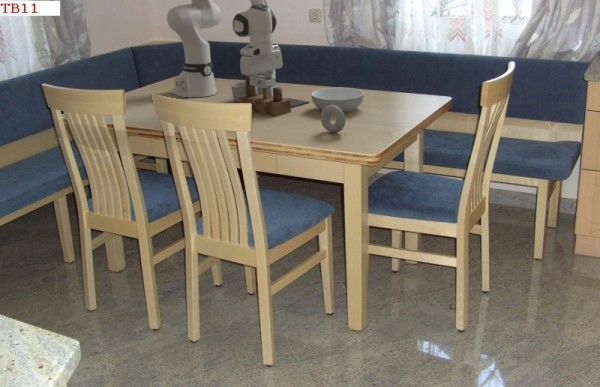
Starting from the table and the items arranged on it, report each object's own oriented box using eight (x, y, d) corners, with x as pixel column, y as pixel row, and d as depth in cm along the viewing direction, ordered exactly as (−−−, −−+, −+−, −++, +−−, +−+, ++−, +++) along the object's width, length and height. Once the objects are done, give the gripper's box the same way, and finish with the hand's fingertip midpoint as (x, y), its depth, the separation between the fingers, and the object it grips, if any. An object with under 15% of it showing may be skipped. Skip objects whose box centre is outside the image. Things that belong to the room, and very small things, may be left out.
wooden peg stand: (239, 109, 299) (237, 77, 295) (255, 105, 306) (253, 73, 301) (275, 116, 287) (273, 83, 282) (290, 111, 293) (289, 79, 288)
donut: (319, 131, 264) (318, 104, 261) (324, 129, 267) (324, 102, 263) (341, 136, 258) (341, 108, 255) (347, 133, 261) (347, 105, 257)
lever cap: (249, 85, 294) (249, 75, 293) (259, 82, 298) (259, 73, 296) (266, 88, 288) (266, 78, 287) (276, 85, 292) (275, 76, 290)
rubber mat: (268, 104, 305) (268, 103, 305) (287, 99, 314) (287, 97, 313) (289, 108, 298) (289, 107, 298) (309, 103, 306) (309, 101, 306)
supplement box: (260, 93, 325) (259, 65, 321) (276, 94, 323) (275, 65, 319) (255, 97, 318) (253, 68, 314) (271, 98, 316) (270, 68, 312)
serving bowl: (304, 114, 288) (303, 97, 286) (321, 102, 307) (321, 86, 304) (355, 118, 281) (355, 100, 279) (370, 105, 300) (370, 88, 297)
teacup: (254, 105, 305) (253, 86, 302) (229, 105, 307) (227, 86, 304) (262, 97, 318) (261, 79, 315) (238, 97, 320) (237, 79, 317)
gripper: (274, 43, 297) (275, 77, 302) (237, 50, 283) (238, 86, 288) (285, 45, 293) (286, 79, 298) (248, 52, 279) (250, 88, 284)
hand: (262, 83), depth 293 cm, fingers closed on lever cap, 5 cm apart
